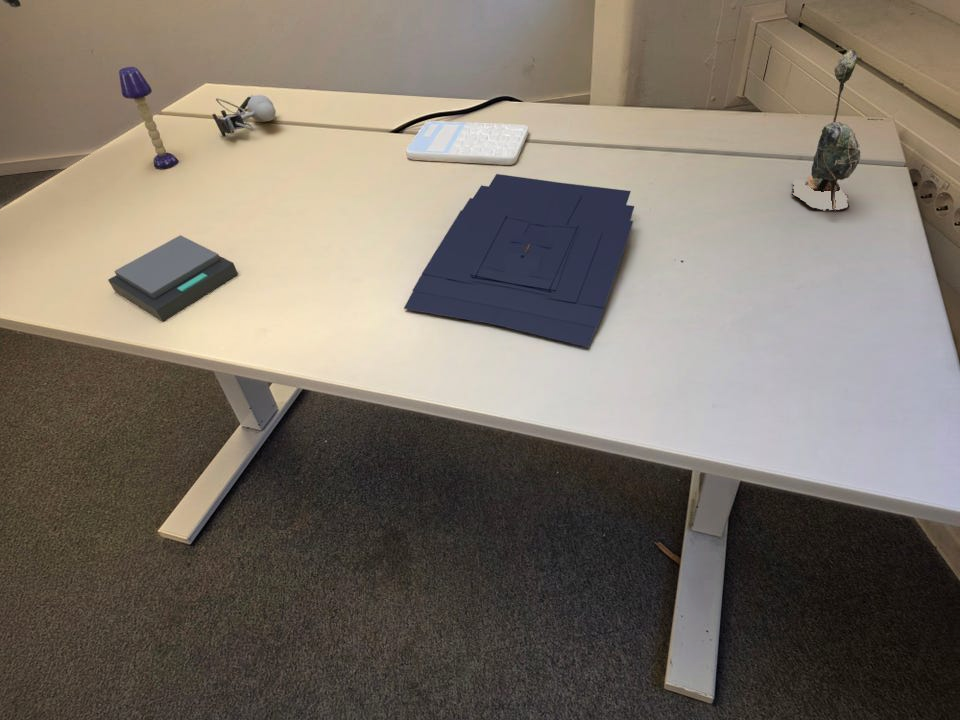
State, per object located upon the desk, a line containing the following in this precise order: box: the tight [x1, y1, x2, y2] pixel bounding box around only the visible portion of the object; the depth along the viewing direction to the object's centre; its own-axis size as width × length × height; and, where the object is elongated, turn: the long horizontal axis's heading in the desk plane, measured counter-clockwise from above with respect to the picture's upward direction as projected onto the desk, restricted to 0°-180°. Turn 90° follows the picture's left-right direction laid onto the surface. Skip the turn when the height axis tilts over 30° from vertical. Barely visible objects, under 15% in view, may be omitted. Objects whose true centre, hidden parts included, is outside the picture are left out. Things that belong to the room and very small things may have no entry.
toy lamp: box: [118, 66, 179, 170], centre depth 106 cm, size 5×5×17 cm
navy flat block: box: [403, 173, 635, 348], centre depth 82 cm, size 24×30×4 cm
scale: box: [107, 234, 239, 322], centre depth 83 cm, size 12×12×3 cm
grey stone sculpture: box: [805, 49, 862, 209], centre depth 82 cm, size 8×11×20 cm
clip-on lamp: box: [211, 94, 277, 137], centre depth 121 cm, size 12×6×18 cm
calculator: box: [405, 120, 530, 166], centre depth 109 cm, size 13×20×2 cm, turn 76°
